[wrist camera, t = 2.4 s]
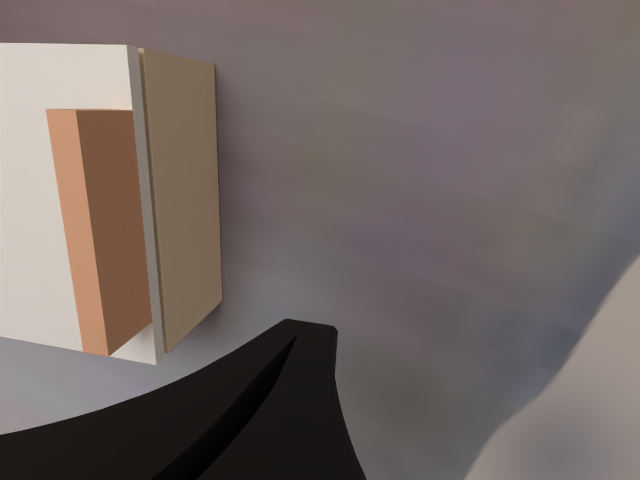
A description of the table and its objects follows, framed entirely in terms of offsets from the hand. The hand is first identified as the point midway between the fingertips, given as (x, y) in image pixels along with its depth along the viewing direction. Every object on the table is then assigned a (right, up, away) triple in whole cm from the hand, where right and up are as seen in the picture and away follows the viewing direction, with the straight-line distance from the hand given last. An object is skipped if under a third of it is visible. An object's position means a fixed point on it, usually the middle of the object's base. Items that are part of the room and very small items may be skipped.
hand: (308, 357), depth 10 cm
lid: (-13, +4, +7) cm, 15 cm away
